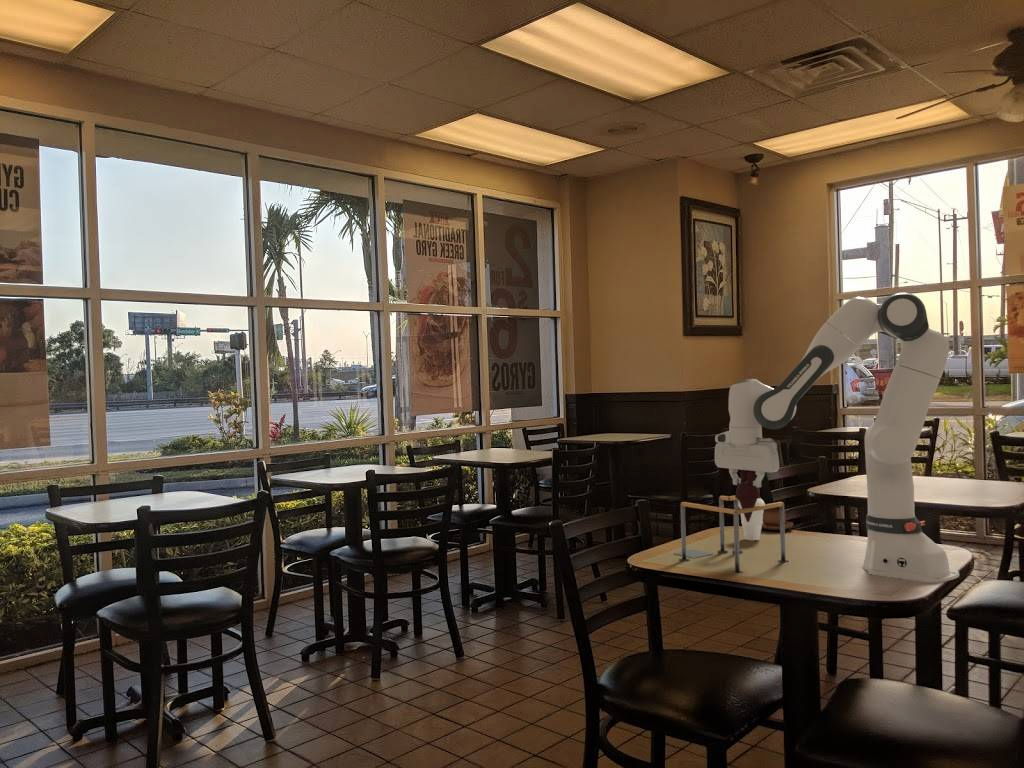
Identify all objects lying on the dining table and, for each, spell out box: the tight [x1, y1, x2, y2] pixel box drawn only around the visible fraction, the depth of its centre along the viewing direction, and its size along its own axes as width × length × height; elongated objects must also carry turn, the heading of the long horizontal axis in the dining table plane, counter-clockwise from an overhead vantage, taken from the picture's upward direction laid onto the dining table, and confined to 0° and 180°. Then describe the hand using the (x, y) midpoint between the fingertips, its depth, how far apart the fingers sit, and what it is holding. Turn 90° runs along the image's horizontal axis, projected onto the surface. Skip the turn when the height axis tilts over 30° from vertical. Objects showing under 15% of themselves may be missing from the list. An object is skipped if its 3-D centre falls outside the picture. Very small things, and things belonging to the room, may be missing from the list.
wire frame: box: [678, 495, 789, 574], centre depth 223 cm, size 21×21×17 cm
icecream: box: [734, 470, 762, 522], centre depth 225 cm, size 7×7×15 cm
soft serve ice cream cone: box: [738, 498, 766, 542], centre depth 253 cm, size 8×8×16 cm
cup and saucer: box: [761, 508, 794, 531], centre depth 269 cm, size 12×12×6 cm
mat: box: [673, 549, 714, 559], centre depth 234 cm, size 8×8×1 cm
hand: (746, 485), depth 225 cm, fingers open, 6 cm apart
